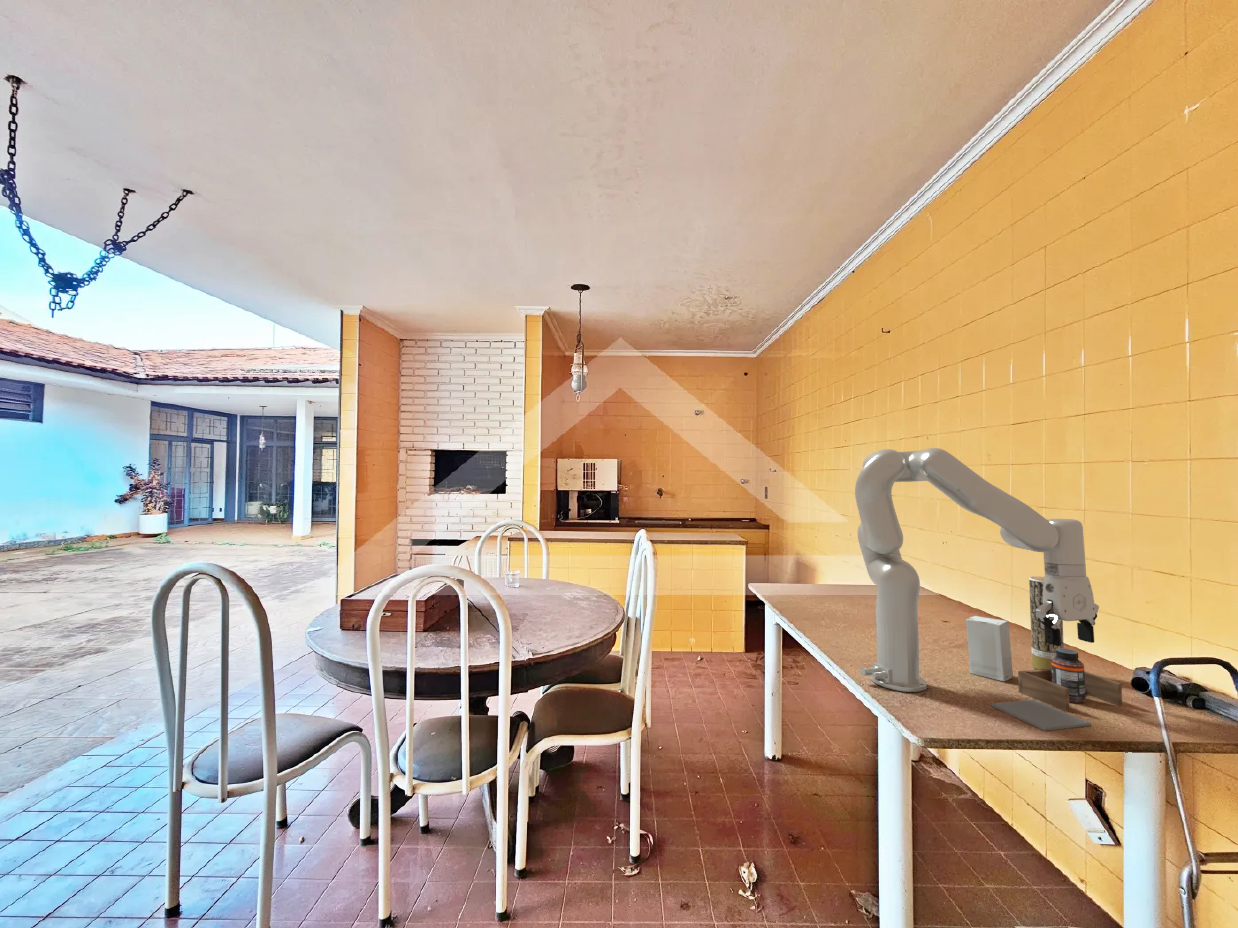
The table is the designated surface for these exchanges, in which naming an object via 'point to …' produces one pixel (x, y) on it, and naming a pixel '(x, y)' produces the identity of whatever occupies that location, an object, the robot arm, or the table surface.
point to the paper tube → (1040, 628)
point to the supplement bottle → (1069, 673)
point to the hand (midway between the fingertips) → (1069, 642)
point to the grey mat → (1040, 715)
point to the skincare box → (989, 648)
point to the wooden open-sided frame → (1058, 696)
